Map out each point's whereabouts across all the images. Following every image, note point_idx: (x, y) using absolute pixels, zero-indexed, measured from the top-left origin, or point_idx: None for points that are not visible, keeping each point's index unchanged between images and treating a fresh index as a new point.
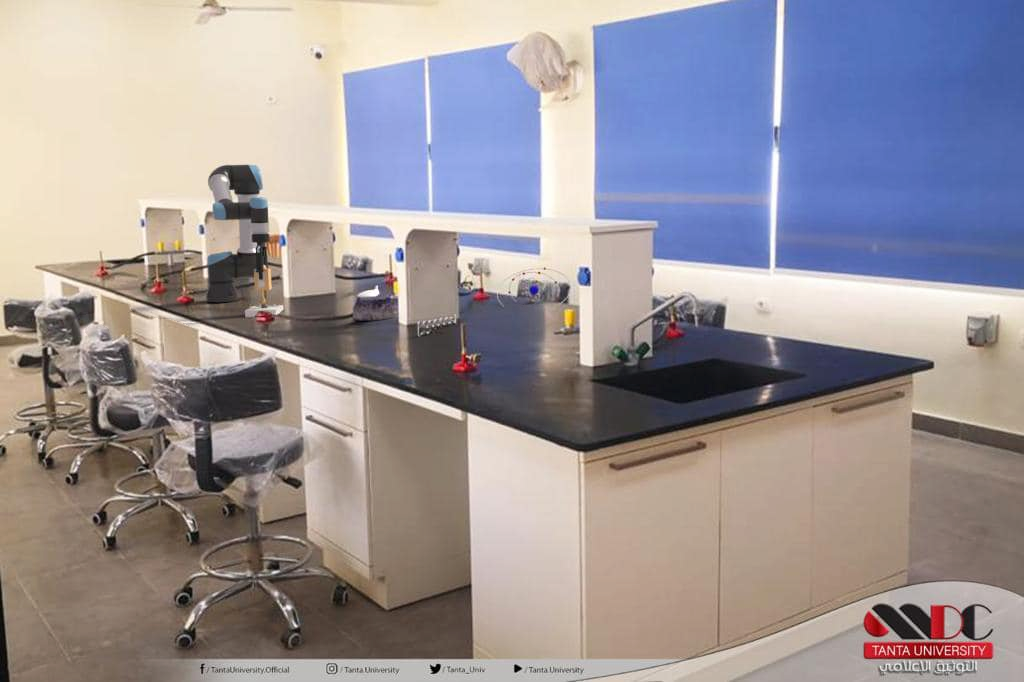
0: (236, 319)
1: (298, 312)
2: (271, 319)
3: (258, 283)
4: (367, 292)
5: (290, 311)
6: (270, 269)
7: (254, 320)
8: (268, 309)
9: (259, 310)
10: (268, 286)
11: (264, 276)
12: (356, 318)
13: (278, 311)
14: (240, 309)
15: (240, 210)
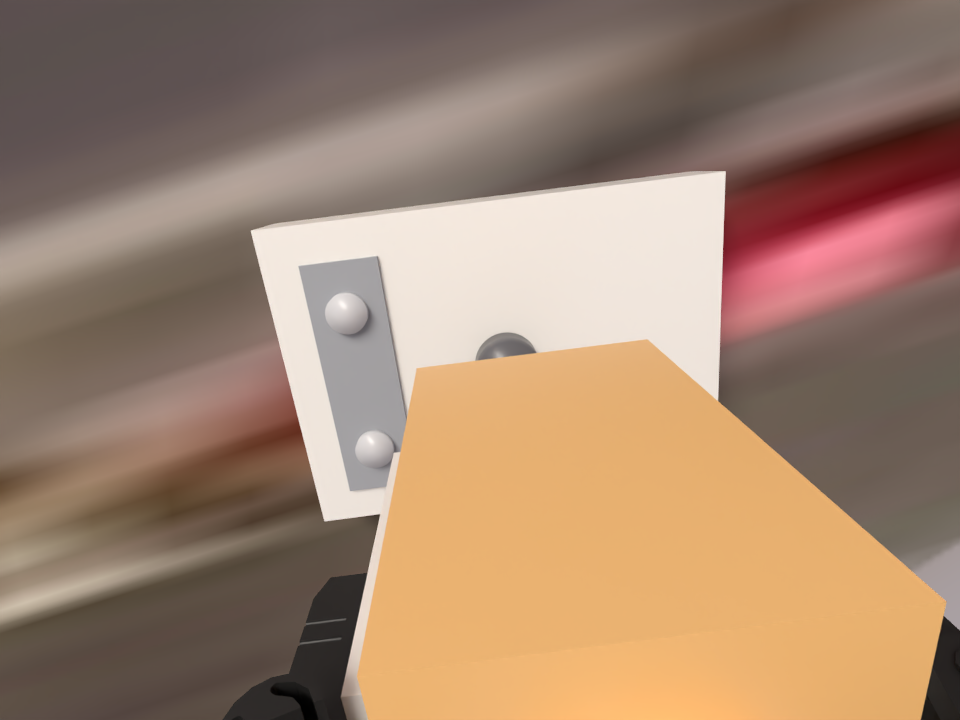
0: (811, 461)
1: (322, 19)
2: (911, 146)
3: None
4: None
5: (227, 154)
6: (400, 633)
7: (934, 290)
8: (685, 263)
9: (717, 341)
10: (669, 365)
11: None
12: None
13: (553, 190)
14: (111, 658)
15: None
